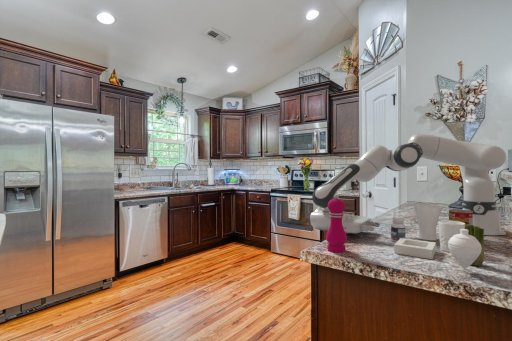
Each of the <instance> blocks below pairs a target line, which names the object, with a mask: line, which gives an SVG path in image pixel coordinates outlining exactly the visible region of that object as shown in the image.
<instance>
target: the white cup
mask: <svg viewBox="0 0 512 341" xmlns="http://www.w3.org/2000/svg"><path fill="white" fill-rule="evenodd" d="M437 225H438V238H439V239H438V240H439V247H440V248H439V249H440V250H442V251H443V252H447V253H451V252H450V250H449V247H448V241H449V240H450V238H451V237H453V235H456V234H461V232H460V229H465V223H463V222H458V221H449V219H448V220H446V219H444V220H442V219H441V220H438V221H437Z"/></svg>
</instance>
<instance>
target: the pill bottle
mask: <svg viewBox="0 0 512 341" xmlns="http://www.w3.org/2000/svg"><path fill="white" fill-rule="evenodd" d="M404 223H405V220H404V218H400V217H393V218H392V223H391V224H390V241H392V242H395V243H396V242H397V241H398V240H399V239H400V238H405V239H406V225H405V224H404Z"/></svg>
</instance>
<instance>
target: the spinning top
mask: <svg viewBox="0 0 512 341" xmlns="http://www.w3.org/2000/svg"><path fill="white" fill-rule="evenodd" d="M460 232H461V234H456V235H453V237H451V238H450V240H449V241H448V247H449V250H450V252H449V253H450V254H451V255H452V257H453V258H454V260H455V261H456V262H457V263H458V265H459V266H460V267H461V268H462V270H463V273H465V272H466V269H467V268H468V267H471V266H472V265H471V264H472V263H473V262H474V261H475V260H476V259H477V258H478V256H479V255H480V253H481V249H482V248H481V244H480V243H479V241H478V240H477V239H476V238H475V237H473V236H471V235H468V232H469V230H467V229H460Z"/></svg>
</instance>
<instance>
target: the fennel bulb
mask: <svg viewBox="0 0 512 341" xmlns="http://www.w3.org/2000/svg"><path fill="white" fill-rule="evenodd" d="M466 229H467V230H469V232H468V235H471V236H473V237H475V238H476V239H477V240H478V241H479V243H480V244H481V248H482V249H481V253H480V255H479V256H478V258H477V259H476V260H475V261H474V262H473V263H472V264H471V265H470V266H479V267H480V266H482V265H483V264H484V262H485V261H484V260H485V242H484V241H485V240H484V236H485V235H484V229H483V228H479V227H478V226H474V225H466Z"/></svg>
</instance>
